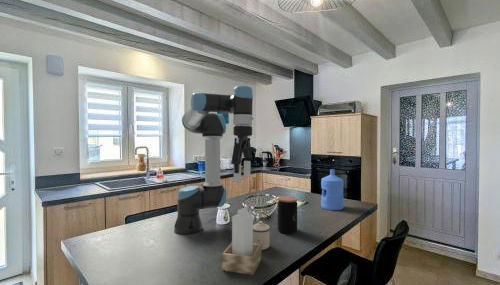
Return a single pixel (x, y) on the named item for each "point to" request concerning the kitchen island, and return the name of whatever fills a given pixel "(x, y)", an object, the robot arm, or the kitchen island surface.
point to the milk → (242, 233)
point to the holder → (241, 260)
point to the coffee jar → (287, 214)
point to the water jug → (332, 192)
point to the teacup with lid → (261, 235)
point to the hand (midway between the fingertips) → (242, 178)
